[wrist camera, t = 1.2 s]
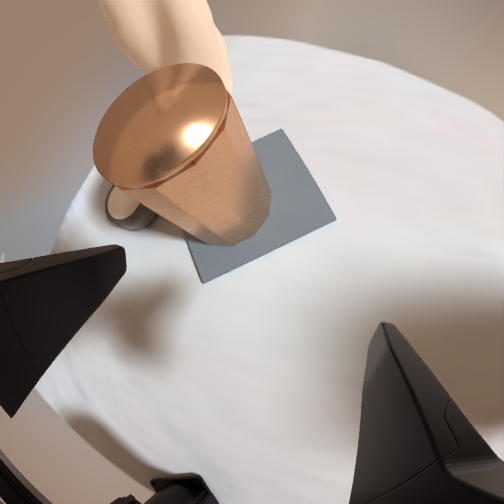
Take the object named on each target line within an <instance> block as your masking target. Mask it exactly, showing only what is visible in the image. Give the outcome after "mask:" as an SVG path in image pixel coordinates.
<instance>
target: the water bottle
mask: <svg viewBox="0 0 504 504" xmlns="http://www.w3.org/2000/svg"><path fill="white" fill-rule="evenodd" d="M98 2H99V5H100V7H101V10H102V12H103V15H104V17H105V20H106V23H107V25H108V28H109V30H110V33H111V35H112V37H113V39H114V41H115V42H116V44H117V45H118V46H119V48H120V49H121V50H122V52H123V53H124V54H125V55H126V56H127V57H128V58H129V59H130V60H131V61H132V62H133V63H134V64H135V65H136V66H137V67H138V68H139V69H140V70H142V71H143V72H144V73H145V74H149V73H151V72H153V71H155V70H158V69H160V68H163V67H166V66H170V65H174V64H181V63H195V64H201V65H204V66H207V67H209V68H211V69H212V70H214V71H215V72H216V73H217V74H218V75H219V76H220V78H221V80H222V82H223V84H224V86H225V88H226V89H227V91H228V92H229V94H230V93H231V91H232V89H233V80H232V76H231V72H230V64H229V56H228V51H227V48H226V44H225V42H224V40H223V37H222V36H221V34H220V32H219V30H218V29H217V27H216V26H215V24H214V22H213V18H212V15H211V11H210V9H209V6H208V3H207V1H206V0H98Z"/></svg>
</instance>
